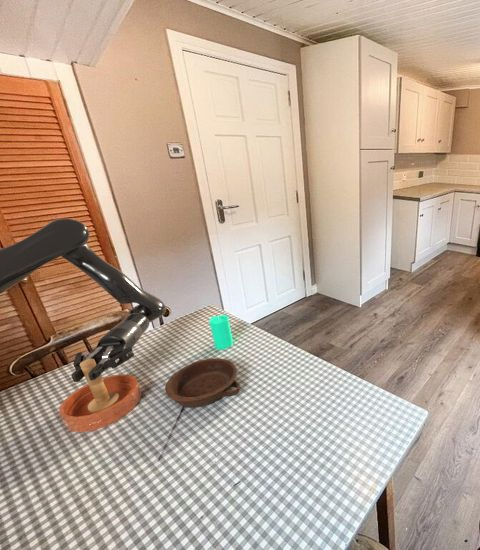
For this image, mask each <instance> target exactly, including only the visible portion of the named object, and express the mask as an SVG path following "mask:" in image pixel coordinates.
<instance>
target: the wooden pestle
mask: <svg viewBox="0 0 480 550" xmlns="http://www.w3.org/2000/svg"><path fill="white" fill-rule="evenodd" d="M95 366H96V362H95V360H94V359H88V360H85V361H83V362H81V363H80V367H81V369H82V371H83V374H84V378H85V381H86V383H87V384H88V385H89V388H90V390H91V392H92V394H93V397H94V399H93V400H92V401H91V402H90V403H89V405H88V410H89V412H90V414H94V413H97V412H100V411H103V410H105V409H107V408H109V407H111V406H113V405H114V404H116V403H118V402H119V401H121V399H120V397H119V394H118V393H116V392H110V393H108V391H107V389H106V387H105V384H104V382H103V379H102V378H103V377H102V374H101V375H100V376H99V377H98V378H96V379H95V380H90V378H89V376H88V373H89V372H90V371H91V370H92V369H93V368H94V367H95Z"/></svg>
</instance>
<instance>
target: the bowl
mask: <svg viewBox="0 0 480 550" xmlns="http://www.w3.org/2000/svg"><path fill="white" fill-rule="evenodd" d="M102 379H103V382H104V384H105V387H106V389H107V391H108V393H110V392H116V393H118V394H119V397H120V399H121V401H119V402H118V403H116V404H114V405H113V406H111V407H109V408H107V409H105V410H103V411H100V412H97V413H94V414H90V412H89V410H88V405H89V403H90V402H91V401H92V400H93V399H94V397H93V394H92V392H91V390H90V388H89V385H88V383H87V384H85V385H83V386H82V387H79V388H78V389H77V390H75V391H74V392H72V393H71V394H70V395H68V396H67V397H66V398H65V399H64V401H63V402H62V403H61V404H60V407H59V409H58V413H59V417H60V418H61V420H62V422H63V424H64V426H65V428H66V429H67V430H69V431H70V432H73V433H85V432H93V431H95V430H98V429H102V428H105V427H107V426H109V425H111V424H114V423H115V422H117V421H119V420H120V419H122V418H124V417H125V416H126V415H128V414H129V413H130V412H131V411H133V410H134V408H136V407H137V405H138V404H139V403H140V401H141V399H142V394H143V393H142V389H141V387H140V385H139V382H138V380H137V377H135V376H133V375H131V374H125V373H120V374H112V375H108V376H104V377H102Z"/></svg>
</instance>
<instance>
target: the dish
mask: <svg viewBox="0 0 480 550" xmlns="http://www.w3.org/2000/svg"><path fill="white" fill-rule="evenodd" d="M237 375H238V369H237V366H236V364H235V363H234V362H233V361H231V360H229V359H226V358H220V357H212V358H205V359H201V360H197V361H194V362H191V363H189V364H187V365H185V366H183V367H182V368H180V369H179V370H177V371H176V372H174V373H173V374H172V375H171V377H169V379H168V380H167V381H166V384H165V389H164V392H165V394H166V396H167V398H169V399H171V400H173V401H174V402H175V403H176V404H178V405H179V406H181V407H184V408H190V409H193V408H194V409H195V408H200V407H205V406H208V405H211V404H212V403H215V402H216V401H218V400H220V399H222V398H223V397H234V396H236V395H238V394H239V393H240V391H241V384H240V382H239V381H238V380H236V378H237ZM232 388H234V389H232Z"/></svg>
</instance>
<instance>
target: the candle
mask: <svg viewBox="0 0 480 550" xmlns="http://www.w3.org/2000/svg"><path fill="white" fill-rule="evenodd" d="M208 322H209V327H210V331H211V336H212V339H213V344H214V347H215V349H216V350H226V349H228V348H230V347H232V346H233V344H234V339H233V334H232V330H231V324H230V319H229V316H228V315H227V314H221V315H214V316H212V317H210V318H209V320H208Z"/></svg>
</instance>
